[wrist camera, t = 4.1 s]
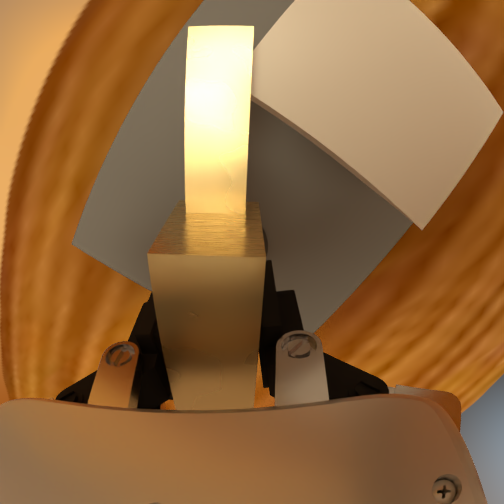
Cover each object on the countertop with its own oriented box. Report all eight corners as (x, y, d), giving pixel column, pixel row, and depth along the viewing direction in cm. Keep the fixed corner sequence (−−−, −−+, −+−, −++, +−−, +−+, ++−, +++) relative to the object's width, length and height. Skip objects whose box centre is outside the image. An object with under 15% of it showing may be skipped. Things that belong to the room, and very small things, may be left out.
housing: (463, 121, 15) (482, 126, 13) (284, 338, 22) (287, 359, 21) (258, -45, 11) (260, -61, 9) (85, 230, 18) (70, 244, 16)
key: (258, 62, 12) (281, -4, 4) (246, 317, 18) (248, 457, 10) (205, 61, 12) (144, 0, 4) (206, 315, 18) (188, 454, 10)
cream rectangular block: (427, 101, 13) (503, 111, 8) (365, 184, 15) (422, 230, 10) (307, 0, 11) (343, -50, 5) (236, 91, 13) (230, 81, 8)
